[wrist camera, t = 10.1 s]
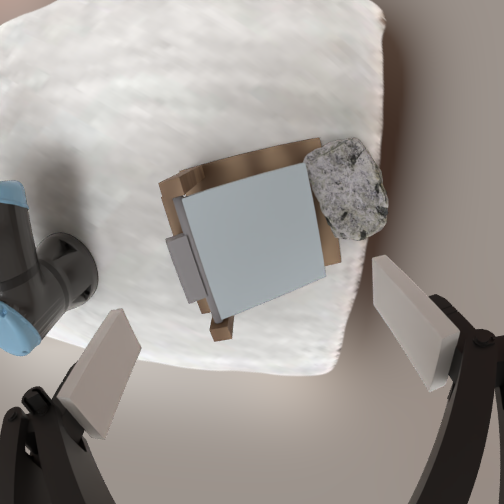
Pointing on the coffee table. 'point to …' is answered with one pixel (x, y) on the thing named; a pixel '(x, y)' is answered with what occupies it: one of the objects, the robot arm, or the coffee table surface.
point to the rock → (348, 188)
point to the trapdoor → (248, 241)
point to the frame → (233, 171)
